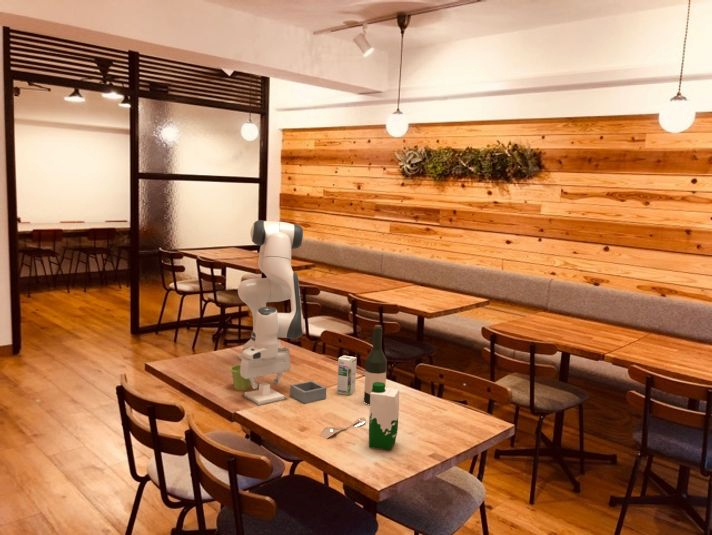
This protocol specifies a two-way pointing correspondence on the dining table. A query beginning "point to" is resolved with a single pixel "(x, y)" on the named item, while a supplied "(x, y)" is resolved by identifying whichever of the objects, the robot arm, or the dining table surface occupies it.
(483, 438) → the dining table surface
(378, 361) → the wine bottle
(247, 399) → the coaster
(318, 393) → the dish
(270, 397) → the lid
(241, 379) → the plant pot
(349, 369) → the syrup box
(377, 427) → the milk carton
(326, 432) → the silver spoon
